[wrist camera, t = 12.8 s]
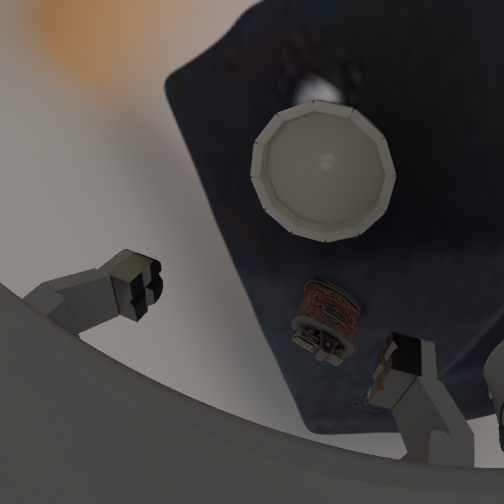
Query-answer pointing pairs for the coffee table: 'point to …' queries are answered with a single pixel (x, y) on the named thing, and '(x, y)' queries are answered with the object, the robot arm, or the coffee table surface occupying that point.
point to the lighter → (326, 321)
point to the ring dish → (323, 170)
